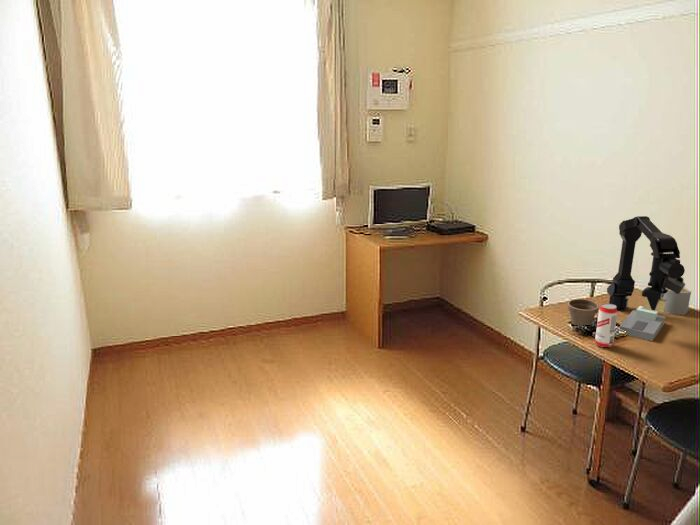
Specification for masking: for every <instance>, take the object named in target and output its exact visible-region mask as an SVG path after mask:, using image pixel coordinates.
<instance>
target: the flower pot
mask: <svg viewBox="0 0 700 525" xmlns="http://www.w3.org/2000/svg"><path fill="white" fill-rule="evenodd" d="M599 308H600V306H599V304H598V303H597V302H596V301H593V300H589V299H586V298H576V299H571V300H569V301H568V302H567V309H568V311H569V314H570V315H569V316H570V322H571V325H572V324H574V325H580V326H583V325H584V326H585V325H590V324H591V323H593V321H594V318H595V316H596V315H598V313H599ZM591 325H592V324H591Z"/></svg>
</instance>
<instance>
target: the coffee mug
mask: <svg viewBox="0 0 700 525" xmlns="http://www.w3.org/2000/svg"><path fill="white" fill-rule="evenodd" d="M666 290H668V292H667V293H665V294H663V295H664V296H663V297H662V298H661V299H665V300H667V302H666V308H665V312H664V313H666V312H667V314H669V313H670V315H674V314H678V315H677V316H681V315H680V314H684V315H687V314H688V311H689V305H690V300H691V296H692V289H691V288H690V287H688V286H686V285H685V286H684V288H683V289H682V291H681V292H680V293H679V294H676V293H675V292H674V291H672V290H670V289H668V288H666ZM686 313H687V314H686Z"/></svg>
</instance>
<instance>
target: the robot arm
mask: <svg viewBox="0 0 700 525" xmlns="http://www.w3.org/2000/svg"><path fill="white" fill-rule="evenodd" d="M618 229H619V231H618V232H619V235H620V236H619V237H620V238H621V239H622V241H621V242H622V243H621V249H620V257H619V263H618V271H617V272H616V274H615V275H614V276H613V278H612V281H611V283H610V285H608V287H607V288H606V293H607V294H608V295H609V304H613V305H615V306H616V307H617V308H616V309H617V311H618V312H624V311H625V310H626V309H627V308H628V305H629V298H628V297H632V296H633V293H634V290H635V283H636V281H635V280H634V279H633V277H632V269H633V262H634V256H635V249H636V244H637V241H638V240H640V238H641V237H642V234H643V235H644V236H645V237H646V239H648V241H649V242H650V243H649V247H650V249H651V250H652V252H651V253H650V255H651V256H652V261H651V262H652V263H651V269H650V272H649V276H650V277H649V282H648V283H647V286H646V287H645V288H644V289H643V290H642V291H641V297H644V298H645V297H647V299H648V301H649V304H650V307H651V309H652V310H655V309H656V306H657V303H658V301H659V299H662V297H663V296H664V295H663V294H665V293H667V292H668V290H666V288H668V289H670V290H672V291H674V292H675V293H676V294H679V293H680V292H681V291H682V289H683V288H684V286H685V287H686V283H685V282H684V279H685V278H684V277H682V276H684V274H685V272H686V271H685V267H684V265H683V264H681V260H680V259H681V255H680V254H681V251H680V249H679V247H678V246H679V245H678V242H677V240H676V239H675V238H674V237H673V236H672V235H670V234H666V233H664V232H662V231H661V230H660V229H659V228H658V227H657V225H655V224H654V222H653V221H652V220H651V219H650V217H649V216H646V215H644V216H642V215H641V216H640V215H639V216H635V217H632V218H629V219H626V220H622V221H621V222H620V223H619V226H618Z"/></svg>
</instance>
